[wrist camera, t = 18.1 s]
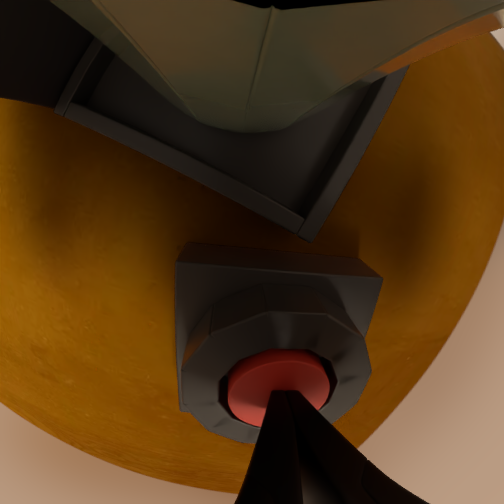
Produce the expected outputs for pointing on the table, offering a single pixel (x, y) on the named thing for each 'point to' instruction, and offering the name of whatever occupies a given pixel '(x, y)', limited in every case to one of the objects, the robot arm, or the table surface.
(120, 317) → the table surface
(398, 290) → the table surface
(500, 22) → the cup
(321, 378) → the button
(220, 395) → the button block
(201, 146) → the coffee maker
